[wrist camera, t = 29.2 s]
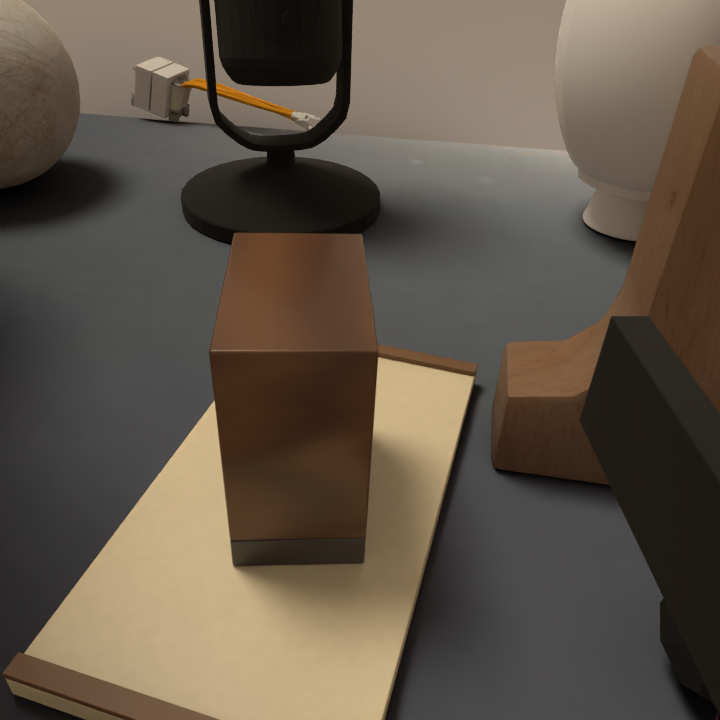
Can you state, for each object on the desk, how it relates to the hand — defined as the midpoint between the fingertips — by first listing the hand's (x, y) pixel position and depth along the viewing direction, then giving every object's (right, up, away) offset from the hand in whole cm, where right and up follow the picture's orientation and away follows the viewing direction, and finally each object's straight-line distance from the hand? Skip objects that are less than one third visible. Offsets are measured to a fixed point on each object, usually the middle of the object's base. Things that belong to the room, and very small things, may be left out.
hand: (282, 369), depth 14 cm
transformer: (-13, +25, +55) cm, 62 cm away
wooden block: (+12, -4, +20) cm, 24 cm away
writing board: (-1, -6, +16) cm, 17 cm away
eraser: (-1, -5, +15) cm, 16 cm away
